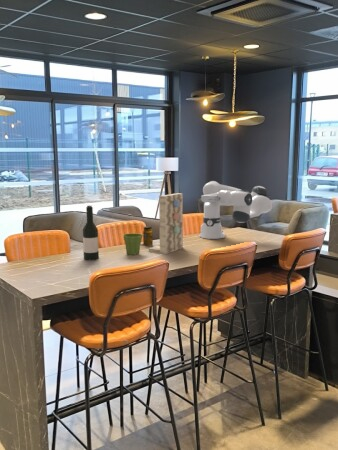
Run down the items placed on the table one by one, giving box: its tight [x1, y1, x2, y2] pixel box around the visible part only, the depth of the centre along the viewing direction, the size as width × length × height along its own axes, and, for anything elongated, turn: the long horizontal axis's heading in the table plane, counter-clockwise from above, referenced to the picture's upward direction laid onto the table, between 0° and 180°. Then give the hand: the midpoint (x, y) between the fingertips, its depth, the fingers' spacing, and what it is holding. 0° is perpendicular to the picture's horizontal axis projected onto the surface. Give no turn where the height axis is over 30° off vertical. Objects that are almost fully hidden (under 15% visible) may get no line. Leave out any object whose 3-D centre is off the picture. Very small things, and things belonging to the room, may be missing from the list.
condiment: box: [140, 225, 155, 248], centre depth 281 cm, size 7×8×12 cm
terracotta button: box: [173, 213, 180, 220], centre depth 262 cm, size 4×6×4 cm
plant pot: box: [122, 232, 143, 256], centre depth 257 cm, size 12×12×11 cm
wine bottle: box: [82, 205, 100, 261], centre depth 244 cm, size 8×8×30 cm
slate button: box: [173, 200, 180, 207], centre depth 261 cm, size 4×6×4 cm
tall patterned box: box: [148, 192, 184, 255], centre depth 265 cm, size 20×12×34 cm, turn 148°
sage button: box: [173, 226, 180, 234], centre depth 263 cm, size 4×6×4 cm
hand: (202, 196), depth 256 cm, fingers closed
